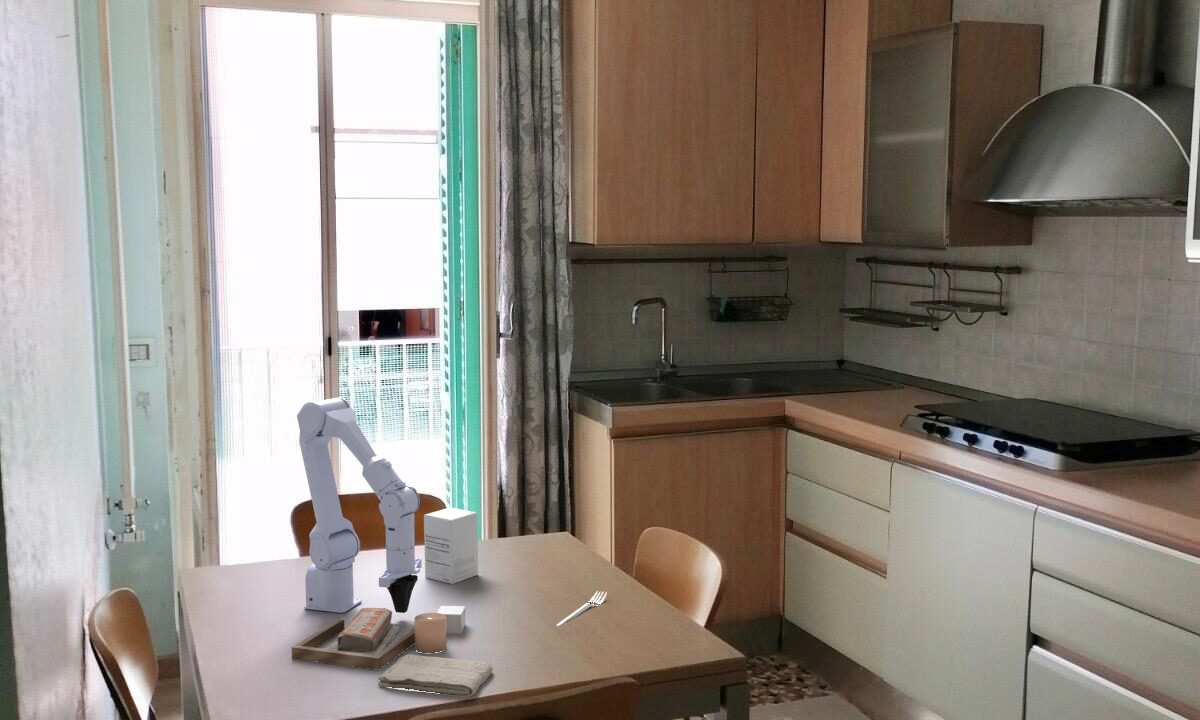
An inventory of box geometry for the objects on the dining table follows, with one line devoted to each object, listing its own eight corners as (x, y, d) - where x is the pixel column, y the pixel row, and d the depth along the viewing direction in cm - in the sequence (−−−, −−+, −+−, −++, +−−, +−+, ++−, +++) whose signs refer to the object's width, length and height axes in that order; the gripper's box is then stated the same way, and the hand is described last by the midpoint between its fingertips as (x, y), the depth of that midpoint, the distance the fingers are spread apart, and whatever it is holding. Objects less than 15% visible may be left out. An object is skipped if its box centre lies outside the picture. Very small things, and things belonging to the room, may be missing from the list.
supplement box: (450, 568, 266) (450, 506, 264) (479, 575, 261) (478, 511, 259) (423, 577, 258) (422, 513, 257) (452, 584, 253) (451, 519, 252)
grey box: (436, 633, 222) (436, 614, 222) (440, 625, 227) (440, 605, 227) (461, 634, 222) (461, 614, 222) (465, 625, 227) (465, 606, 227)
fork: (550, 628, 227) (549, 619, 227) (595, 598, 245) (595, 590, 245) (564, 631, 226) (564, 621, 226) (609, 600, 243) (609, 592, 243)
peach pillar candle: (409, 652, 212) (408, 621, 211) (423, 641, 218) (423, 611, 217) (438, 655, 210) (437, 624, 210) (452, 644, 216) (451, 614, 215)
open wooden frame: (291, 658, 208) (291, 647, 208) (339, 629, 224) (338, 618, 224) (378, 670, 203) (378, 658, 203) (420, 639, 219) (420, 628, 218)
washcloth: (401, 666, 206) (401, 649, 206) (495, 674, 202) (495, 658, 202) (374, 691, 195) (374, 674, 194) (473, 701, 191) (473, 683, 191)
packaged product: (352, 604, 226) (401, 606, 225) (352, 627, 226) (401, 629, 226) (323, 635, 208) (376, 637, 207) (324, 661, 209) (376, 663, 208)
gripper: (400, 558, 220) (401, 625, 222) (434, 539, 234) (435, 602, 236) (368, 554, 223) (370, 621, 224) (403, 536, 236) (404, 599, 238)
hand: (401, 611), depth 230 cm, fingers closed
